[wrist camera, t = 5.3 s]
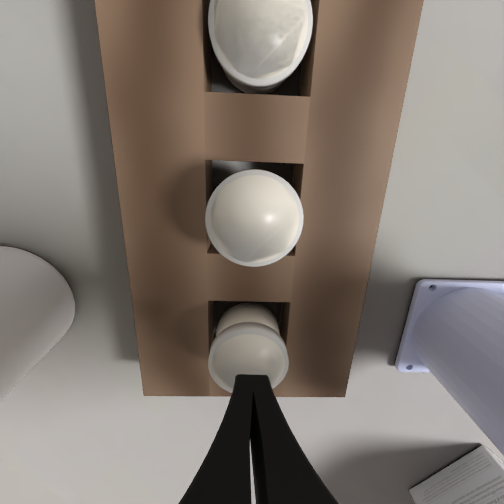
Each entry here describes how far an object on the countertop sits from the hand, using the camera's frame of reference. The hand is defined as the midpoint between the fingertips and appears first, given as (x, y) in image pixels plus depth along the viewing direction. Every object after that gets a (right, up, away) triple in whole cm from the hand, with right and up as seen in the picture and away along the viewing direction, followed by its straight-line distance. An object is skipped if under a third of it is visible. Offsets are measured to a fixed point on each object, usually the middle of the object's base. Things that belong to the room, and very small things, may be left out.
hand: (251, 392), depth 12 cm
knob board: (0, +9, +6) cm, 11 cm away
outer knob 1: (0, +17, +3) cm, 17 cm away
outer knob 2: (0, +1, +6) cm, 6 cm away
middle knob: (0, +9, +4) cm, 9 cm away
